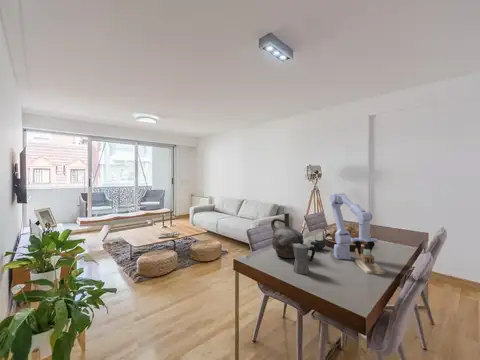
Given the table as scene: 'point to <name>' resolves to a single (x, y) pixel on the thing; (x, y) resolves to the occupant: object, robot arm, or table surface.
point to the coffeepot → (302, 257)
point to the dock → (370, 267)
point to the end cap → (318, 245)
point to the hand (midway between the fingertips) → (364, 253)
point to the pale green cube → (366, 252)
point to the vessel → (285, 238)
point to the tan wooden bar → (364, 257)
